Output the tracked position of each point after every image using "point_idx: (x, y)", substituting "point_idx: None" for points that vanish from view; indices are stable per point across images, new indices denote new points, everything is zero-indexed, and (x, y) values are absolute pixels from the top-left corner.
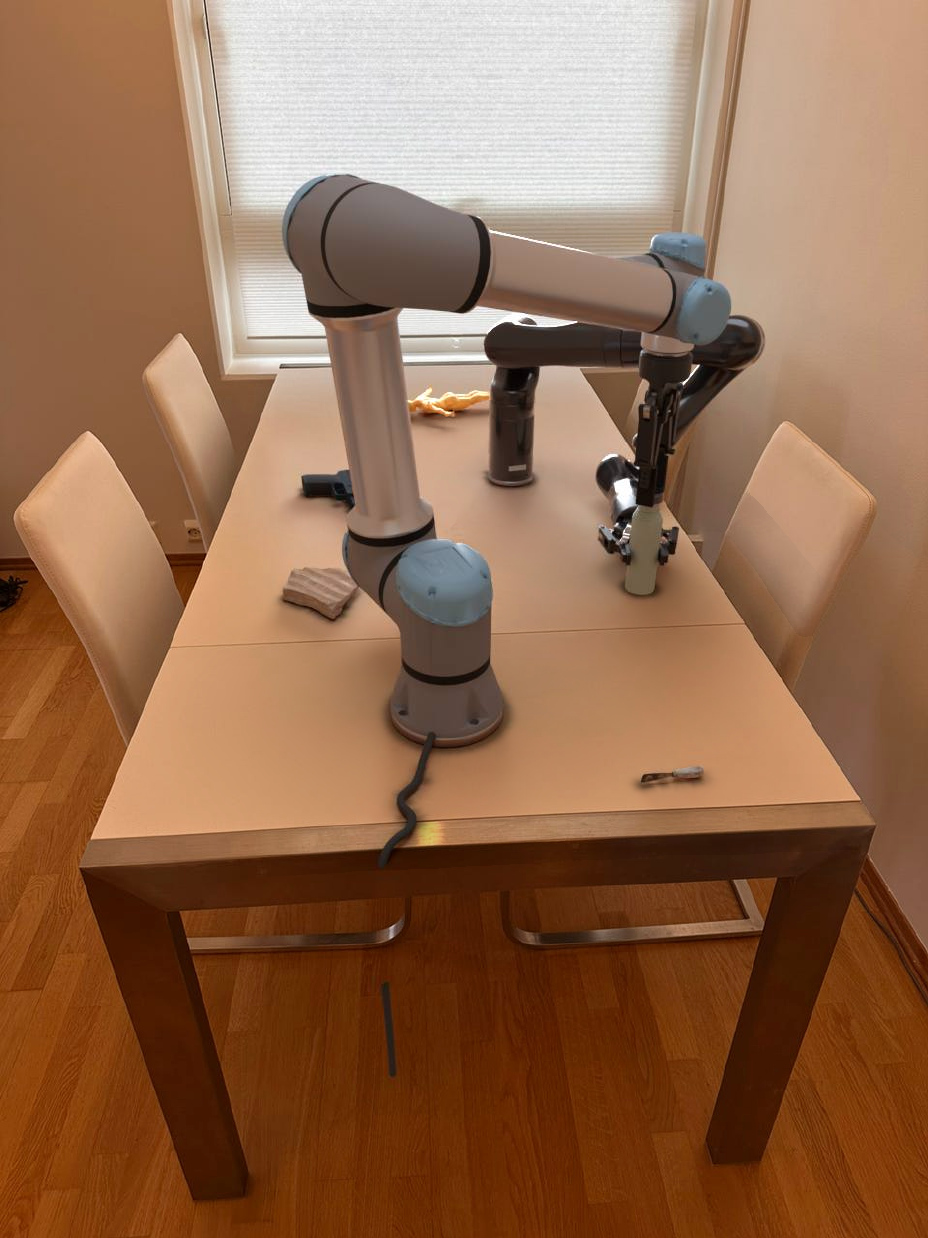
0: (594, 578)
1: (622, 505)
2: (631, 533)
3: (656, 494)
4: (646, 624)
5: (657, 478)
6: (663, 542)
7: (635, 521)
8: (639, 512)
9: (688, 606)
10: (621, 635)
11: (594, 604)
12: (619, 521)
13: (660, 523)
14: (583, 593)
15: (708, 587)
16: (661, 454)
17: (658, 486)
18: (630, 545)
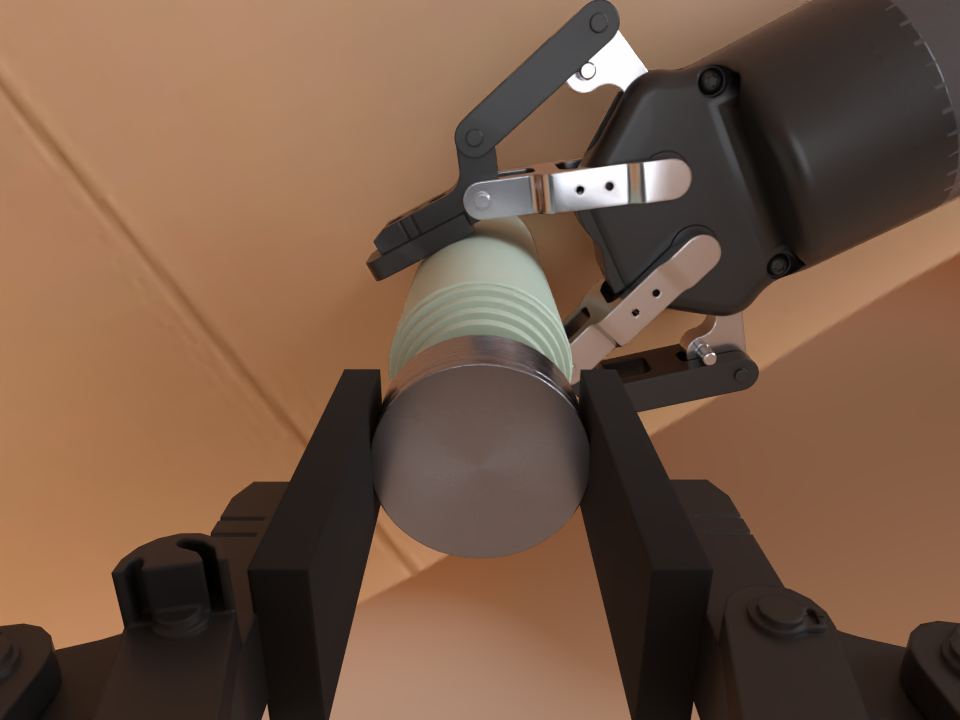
0: (465, 63)
1: (838, 59)
2: (429, 274)
3: (403, 528)
4: (259, 361)
5: (597, 505)
6: None
7: (402, 322)
8: (414, 355)
9: None
10: (145, 314)
11: (273, 149)
12: (727, 80)
13: None
14: (325, 72)
15: None
16: (695, 666)
17: (553, 499)
18: (430, 260)
